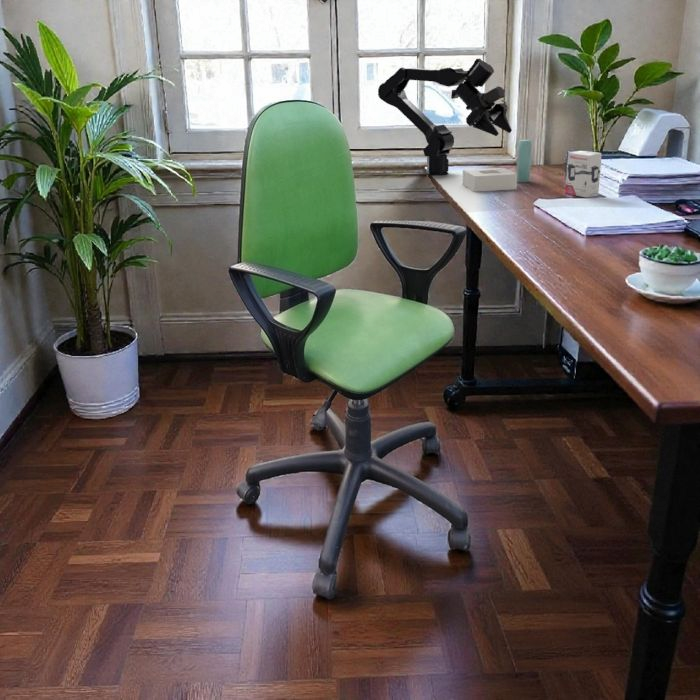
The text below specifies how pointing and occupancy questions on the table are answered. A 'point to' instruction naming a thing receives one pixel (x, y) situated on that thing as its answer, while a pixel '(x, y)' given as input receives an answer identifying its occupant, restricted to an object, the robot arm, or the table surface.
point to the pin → (524, 160)
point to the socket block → (489, 179)
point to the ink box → (583, 173)
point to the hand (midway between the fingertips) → (504, 133)
